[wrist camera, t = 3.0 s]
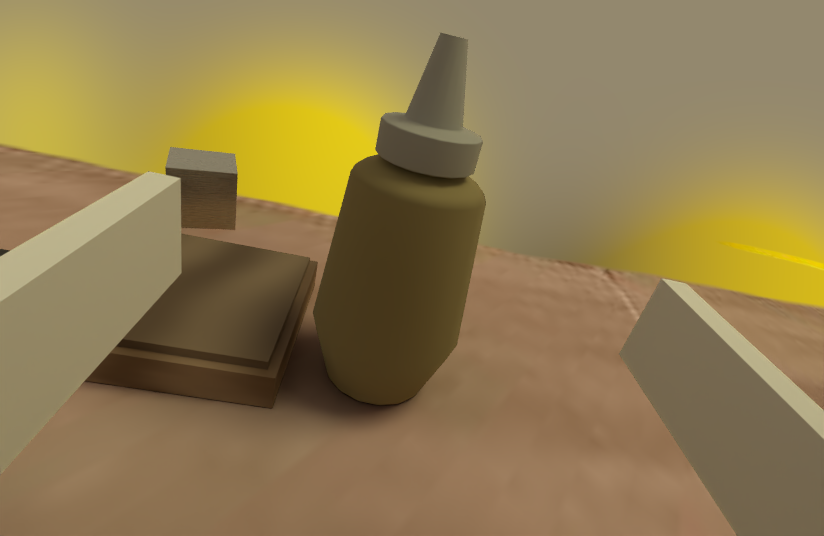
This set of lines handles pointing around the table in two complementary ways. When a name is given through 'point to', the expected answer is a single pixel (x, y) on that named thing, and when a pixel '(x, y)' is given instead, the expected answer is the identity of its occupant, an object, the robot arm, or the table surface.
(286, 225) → the table surface
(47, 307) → the robot arm
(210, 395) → the stand
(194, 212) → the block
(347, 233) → the squeeze bottle
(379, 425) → the table surface
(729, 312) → the table surface
